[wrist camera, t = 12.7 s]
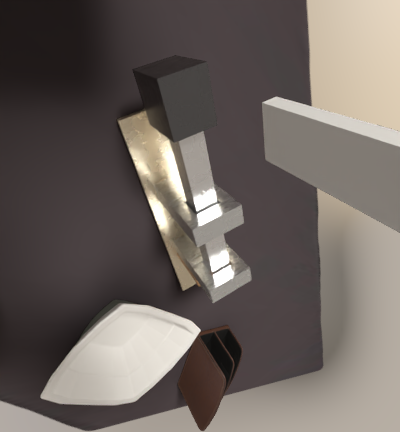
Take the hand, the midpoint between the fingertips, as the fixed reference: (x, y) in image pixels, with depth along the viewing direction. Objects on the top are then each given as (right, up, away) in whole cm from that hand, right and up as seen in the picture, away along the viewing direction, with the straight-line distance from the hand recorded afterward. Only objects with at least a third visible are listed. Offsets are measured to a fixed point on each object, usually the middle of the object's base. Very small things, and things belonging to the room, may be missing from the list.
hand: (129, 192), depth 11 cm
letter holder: (+3, -38, +67) cm, 77 cm away
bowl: (-13, -22, +45) cm, 52 cm away
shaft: (+1, +4, +29) cm, 29 cm away
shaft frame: (0, 0, +39) cm, 39 cm away
